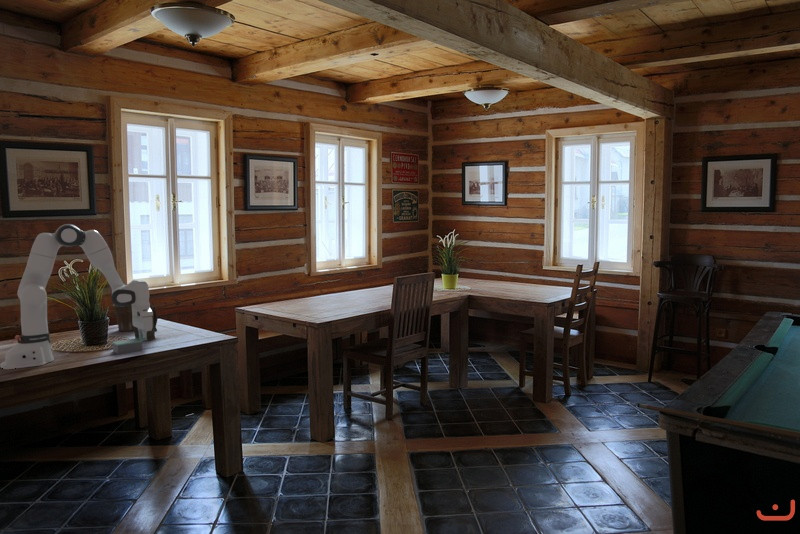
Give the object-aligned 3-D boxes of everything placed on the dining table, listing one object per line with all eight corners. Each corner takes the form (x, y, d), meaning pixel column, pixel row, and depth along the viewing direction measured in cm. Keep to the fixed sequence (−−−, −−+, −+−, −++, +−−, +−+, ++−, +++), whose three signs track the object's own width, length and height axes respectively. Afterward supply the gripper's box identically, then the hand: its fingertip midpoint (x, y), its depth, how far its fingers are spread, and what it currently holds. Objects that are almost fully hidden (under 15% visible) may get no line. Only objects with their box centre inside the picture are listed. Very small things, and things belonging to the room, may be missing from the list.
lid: (117, 346, 313) (116, 337, 313) (112, 343, 319) (111, 335, 319) (148, 341, 323) (148, 333, 323) (143, 339, 329) (142, 330, 329)
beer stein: (147, 342, 340) (146, 306, 340) (129, 342, 343) (129, 306, 342) (163, 338, 355) (162, 303, 355) (146, 337, 358) (145, 303, 357)
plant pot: (119, 333, 365) (118, 306, 364) (110, 329, 377) (108, 303, 375) (147, 329, 376) (146, 303, 374) (138, 325, 388) (136, 300, 386)
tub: (118, 355, 314) (117, 345, 313) (113, 352, 320) (112, 343, 319) (142, 351, 322) (141, 341, 321) (137, 348, 328) (136, 339, 327)
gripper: (128, 309, 329) (130, 334, 331) (141, 314, 314) (143, 341, 316) (140, 307, 334) (142, 333, 335) (154, 312, 318) (155, 339, 320)
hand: (142, 337), depth 325 cm, fingers closed on lid, 3 cm apart
